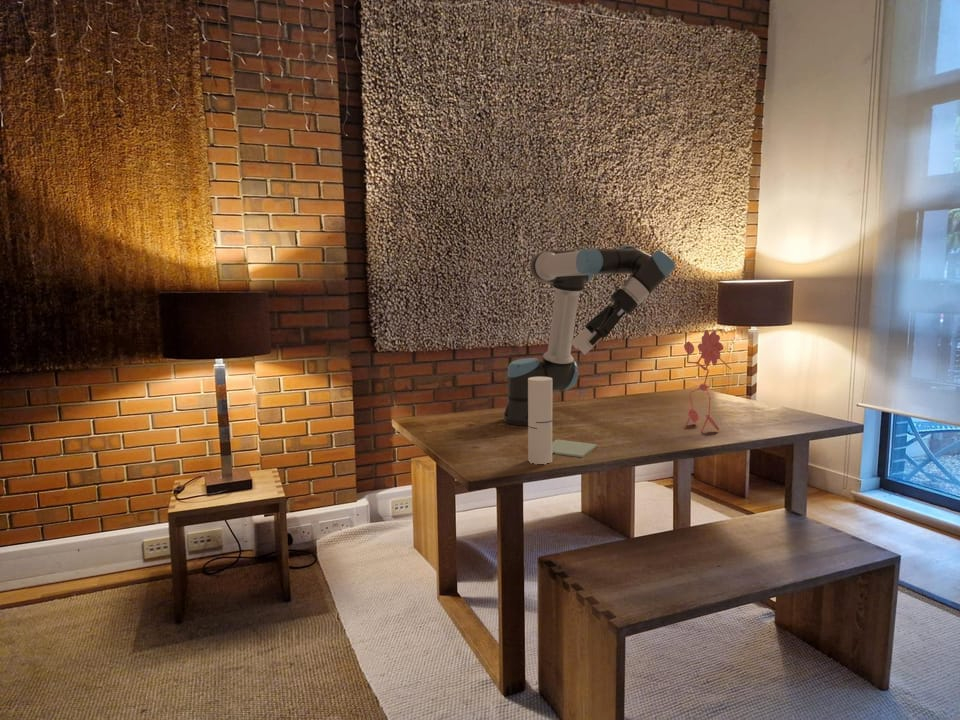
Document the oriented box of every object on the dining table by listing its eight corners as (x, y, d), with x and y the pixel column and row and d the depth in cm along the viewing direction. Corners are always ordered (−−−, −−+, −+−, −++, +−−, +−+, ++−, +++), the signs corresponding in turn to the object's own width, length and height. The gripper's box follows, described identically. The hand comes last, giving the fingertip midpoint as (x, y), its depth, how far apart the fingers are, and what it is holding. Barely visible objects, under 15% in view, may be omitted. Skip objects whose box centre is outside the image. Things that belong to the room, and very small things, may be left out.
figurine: (714, 438, 214) (718, 334, 209) (670, 421, 238) (673, 328, 233) (752, 434, 218) (757, 332, 213) (705, 418, 242) (709, 326, 237)
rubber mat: (539, 451, 200) (539, 449, 200) (556, 441, 213) (556, 439, 213) (582, 457, 194) (582, 455, 194) (597, 446, 206) (597, 444, 206)
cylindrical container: (551, 465, 187) (551, 381, 183) (526, 464, 188) (526, 380, 185) (553, 458, 194) (553, 376, 190) (529, 457, 195) (529, 376, 191)
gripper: (650, 307, 173) (594, 363, 174) (627, 303, 197) (578, 352, 199) (631, 288, 172) (575, 344, 173) (610, 286, 196) (561, 335, 198)
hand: (577, 348), depth 186 cm, fingers open, 13 cm apart
